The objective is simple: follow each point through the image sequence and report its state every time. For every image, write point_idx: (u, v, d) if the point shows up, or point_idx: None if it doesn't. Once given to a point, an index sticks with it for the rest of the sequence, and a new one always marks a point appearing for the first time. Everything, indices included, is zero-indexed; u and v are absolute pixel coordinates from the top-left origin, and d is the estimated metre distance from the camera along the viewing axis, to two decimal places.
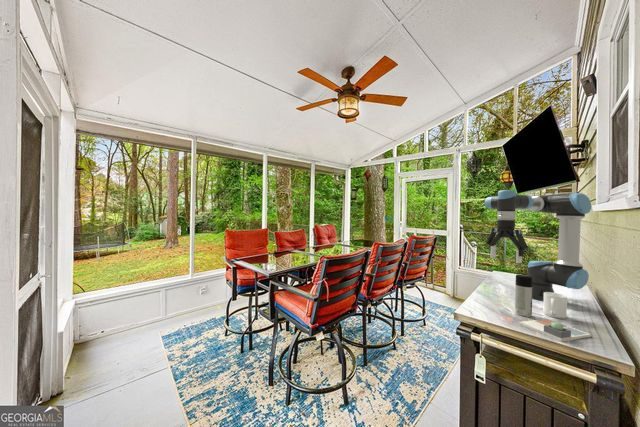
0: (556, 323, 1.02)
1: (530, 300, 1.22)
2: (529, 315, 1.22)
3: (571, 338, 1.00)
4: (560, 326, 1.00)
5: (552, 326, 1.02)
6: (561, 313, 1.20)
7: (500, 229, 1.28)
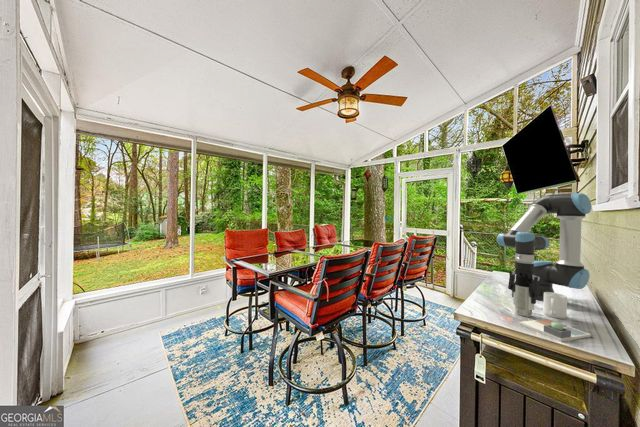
0: (556, 323, 1.02)
1: None
2: (529, 315, 1.22)
3: (571, 338, 1.00)
4: (560, 326, 1.00)
5: (552, 326, 1.02)
6: (561, 313, 1.20)
7: (517, 270, 1.27)
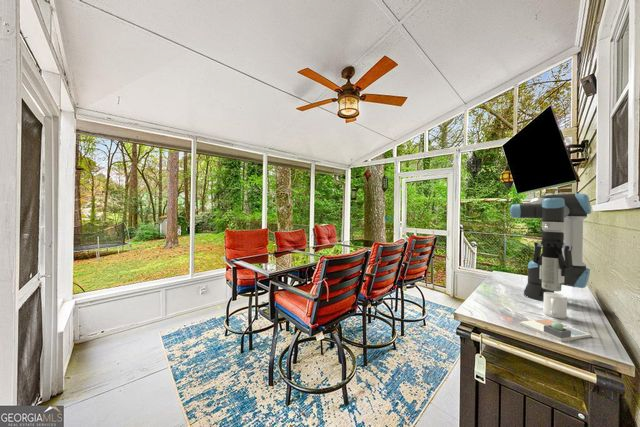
0: (556, 323, 1.02)
1: None
2: (559, 289, 1.09)
3: (571, 338, 1.00)
4: (560, 326, 1.00)
5: (552, 326, 1.02)
6: (561, 313, 1.20)
7: (545, 241, 1.14)
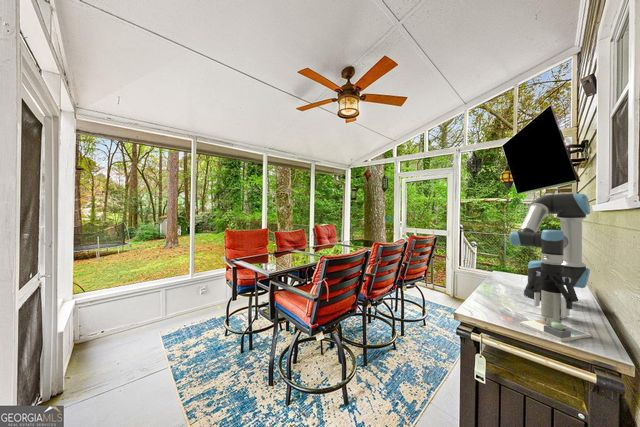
0: (556, 323, 1.02)
1: (559, 308, 1.09)
2: None
3: (571, 338, 1.00)
4: (560, 326, 1.00)
5: (552, 326, 1.02)
6: (561, 313, 1.20)
7: (544, 273, 1.14)
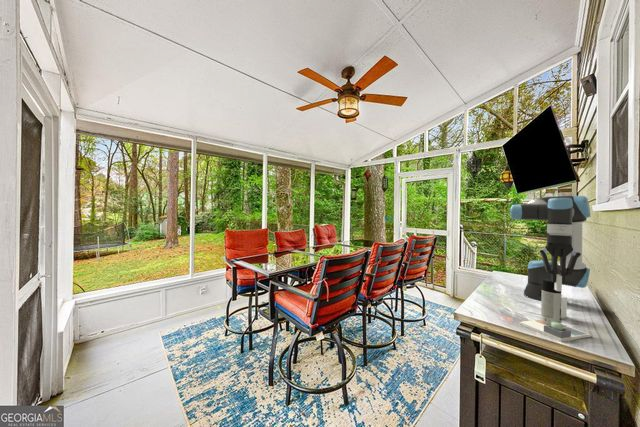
0: (556, 323, 1.02)
1: (559, 308, 1.09)
2: None
3: (571, 338, 1.00)
4: (560, 326, 1.00)
5: (552, 326, 1.02)
6: (561, 313, 1.20)
7: (551, 245, 1.03)
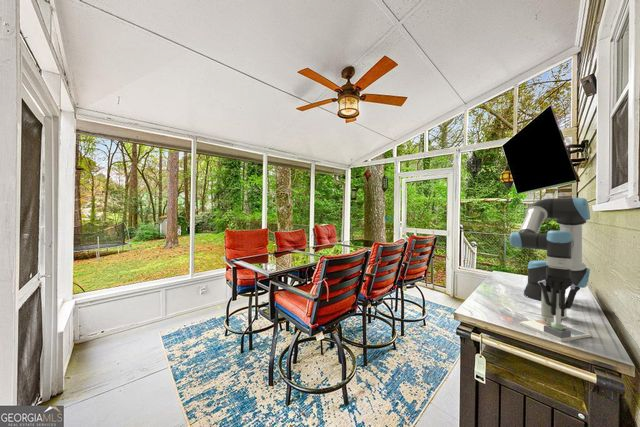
0: None
1: None
2: None
3: (571, 338, 1.00)
4: (560, 326, 1.00)
5: (552, 326, 1.02)
6: None
7: (551, 278, 1.03)
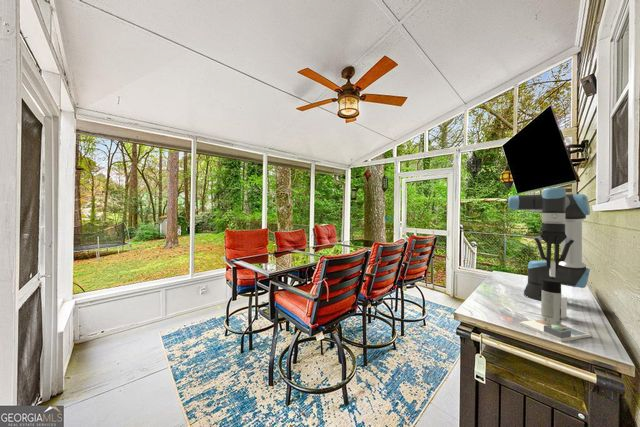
0: (556, 326, 1.02)
1: (559, 308, 1.09)
2: (558, 324, 1.09)
3: (571, 338, 1.00)
4: (560, 329, 1.00)
5: None
6: (561, 313, 1.20)
7: (545, 233, 1.08)
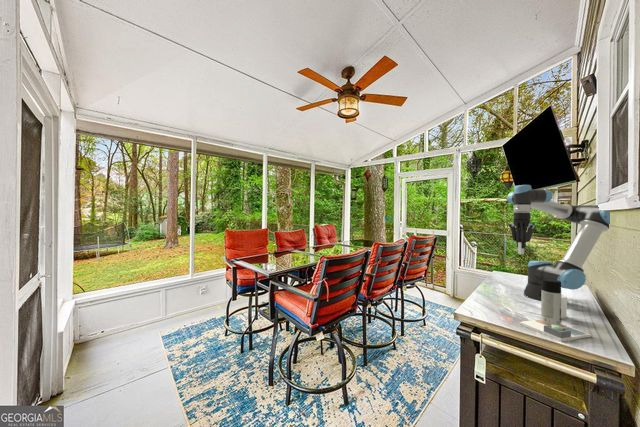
0: (556, 326, 1.02)
1: (559, 308, 1.09)
2: (558, 324, 1.09)
3: (571, 338, 1.00)
4: (560, 329, 1.00)
5: None
6: (561, 313, 1.20)
7: (515, 220, 1.40)
